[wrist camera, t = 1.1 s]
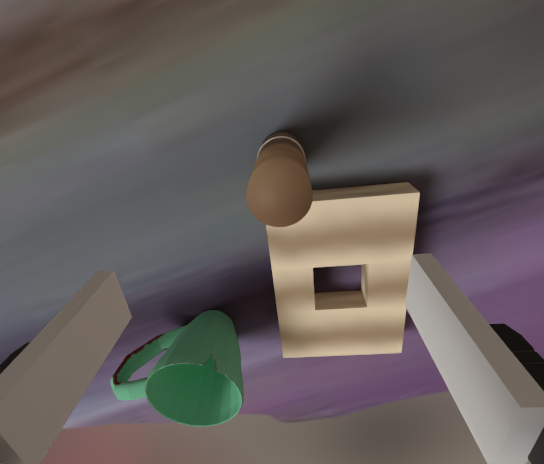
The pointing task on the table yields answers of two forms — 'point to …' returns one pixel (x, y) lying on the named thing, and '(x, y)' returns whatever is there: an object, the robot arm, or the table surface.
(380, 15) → the table surface
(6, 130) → the table surface
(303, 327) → the board
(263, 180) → the peg
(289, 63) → the table surface
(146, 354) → the mug
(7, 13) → the table surface
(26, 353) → the robot arm
